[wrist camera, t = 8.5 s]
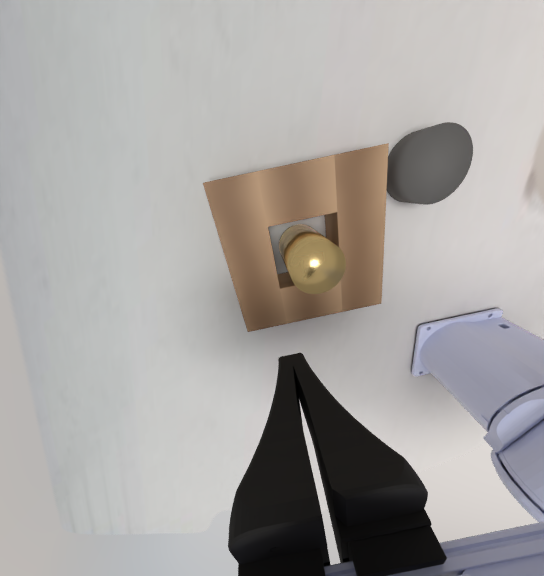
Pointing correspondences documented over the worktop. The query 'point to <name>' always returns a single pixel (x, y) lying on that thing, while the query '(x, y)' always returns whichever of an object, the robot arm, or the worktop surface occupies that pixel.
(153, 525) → the worktop surface
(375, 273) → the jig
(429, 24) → the worktop surface
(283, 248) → the brass cylinder plug
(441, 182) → the flat gray river rock
